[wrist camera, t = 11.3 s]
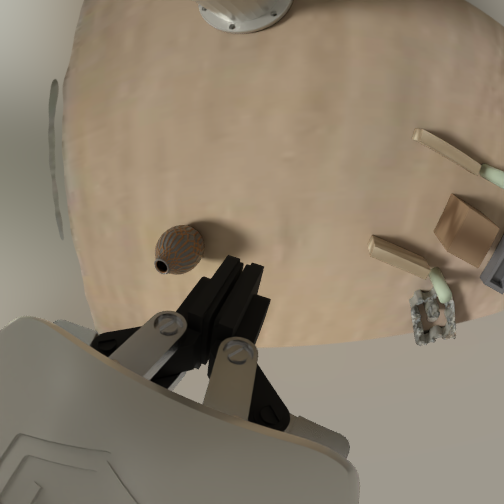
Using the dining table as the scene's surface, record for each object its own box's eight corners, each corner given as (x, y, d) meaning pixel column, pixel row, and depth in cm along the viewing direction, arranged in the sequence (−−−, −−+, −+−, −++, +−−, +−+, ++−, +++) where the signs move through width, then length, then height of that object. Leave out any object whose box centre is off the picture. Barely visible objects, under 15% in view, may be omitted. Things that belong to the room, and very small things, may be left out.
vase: (218, 242, 41) (192, 272, 34) (194, 265, 45) (167, 295, 38) (187, 210, 40) (154, 234, 33) (165, 236, 44) (134, 262, 37)
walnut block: (451, 193, 28) (469, 208, 23) (480, 211, 27) (499, 228, 22) (433, 231, 31) (447, 251, 26) (462, 247, 30) (478, 268, 25)
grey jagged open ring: (451, 324, 36) (456, 340, 33) (413, 336, 39) (417, 353, 36) (448, 276, 33) (456, 291, 29) (405, 290, 36) (410, 307, 33)
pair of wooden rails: (415, 128, 26) (423, 129, 23) (469, 160, 25) (481, 165, 22) (367, 244, 35) (370, 256, 32) (419, 266, 33) (425, 279, 30)
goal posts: (482, 160, 24) (504, 170, 19) (491, 167, 23) (513, 178, 18) (426, 276, 34) (436, 300, 29) (435, 280, 33) (446, 305, 28)
